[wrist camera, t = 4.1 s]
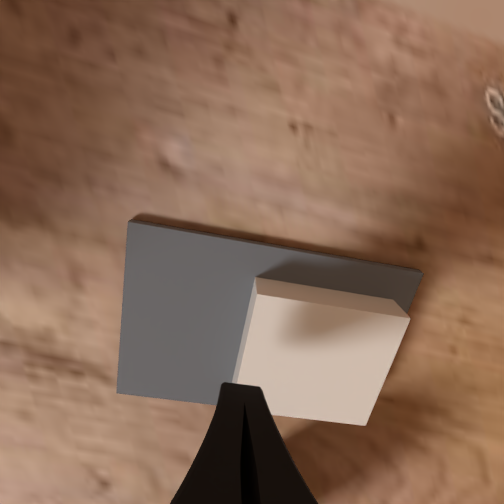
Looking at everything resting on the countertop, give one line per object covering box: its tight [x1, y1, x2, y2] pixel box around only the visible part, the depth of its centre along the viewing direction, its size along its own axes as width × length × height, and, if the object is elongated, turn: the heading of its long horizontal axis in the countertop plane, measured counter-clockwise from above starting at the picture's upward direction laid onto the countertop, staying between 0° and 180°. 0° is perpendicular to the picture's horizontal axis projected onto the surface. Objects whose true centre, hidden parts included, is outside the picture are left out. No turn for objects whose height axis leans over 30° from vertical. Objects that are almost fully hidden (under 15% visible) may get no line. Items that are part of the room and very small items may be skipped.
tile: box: [232, 277, 411, 426], centre depth 15 cm, size 2×6×6 cm
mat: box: [117, 219, 424, 405], centre depth 15 cm, size 13×9×1 cm
